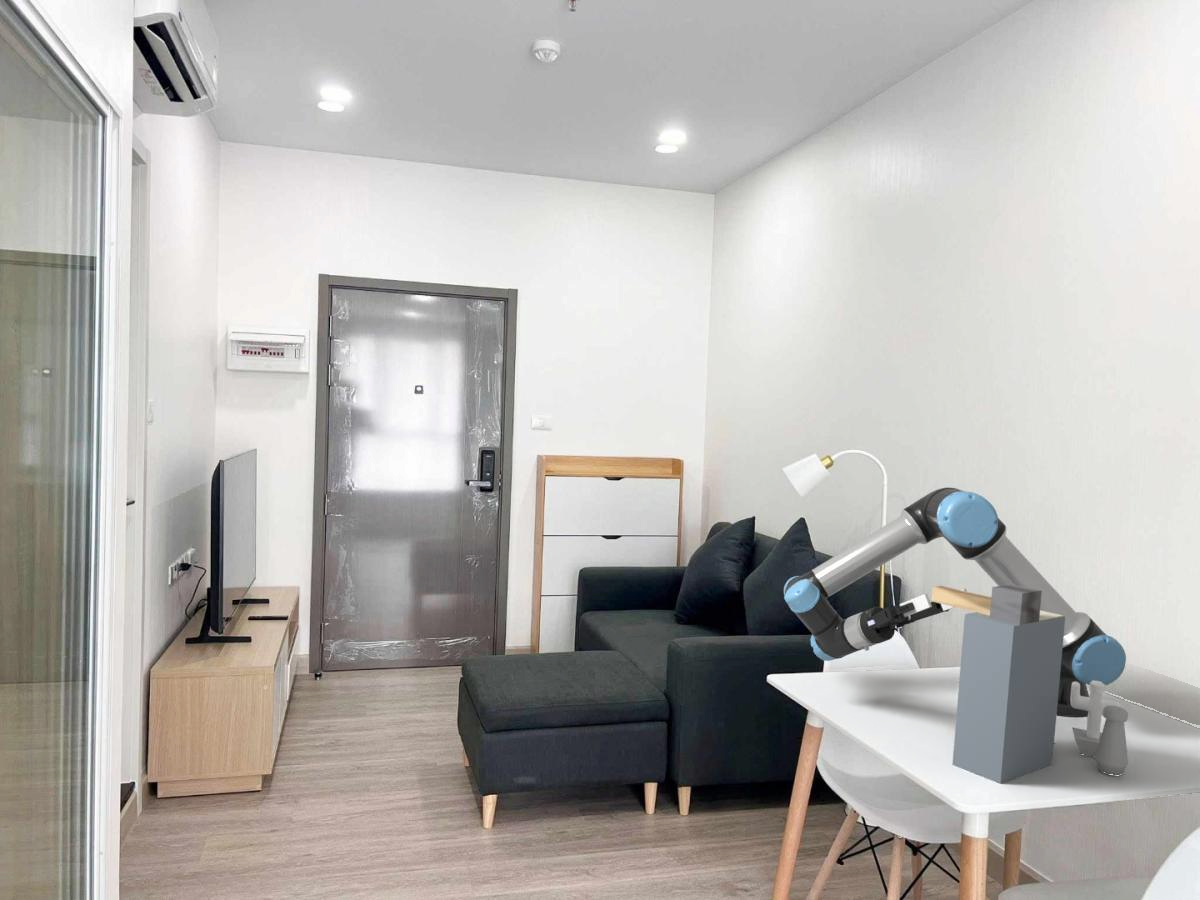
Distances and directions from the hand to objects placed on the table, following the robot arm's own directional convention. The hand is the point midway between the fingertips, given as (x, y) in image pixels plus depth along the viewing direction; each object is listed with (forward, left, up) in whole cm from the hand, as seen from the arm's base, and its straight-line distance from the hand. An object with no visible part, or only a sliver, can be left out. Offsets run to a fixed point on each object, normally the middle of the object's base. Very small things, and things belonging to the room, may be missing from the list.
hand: (948, 597), depth 186 cm
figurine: (-28, +18, -32) cm, 46 cm away
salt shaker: (-21, +25, -32) cm, 45 cm away
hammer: (0, +7, -1) cm, 7 cm away
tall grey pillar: (-4, +12, -31) cm, 34 cm away
